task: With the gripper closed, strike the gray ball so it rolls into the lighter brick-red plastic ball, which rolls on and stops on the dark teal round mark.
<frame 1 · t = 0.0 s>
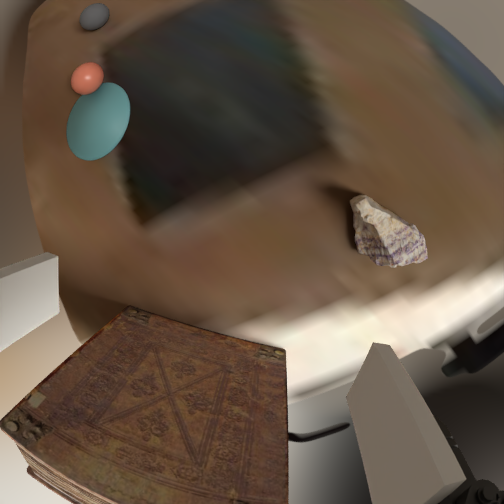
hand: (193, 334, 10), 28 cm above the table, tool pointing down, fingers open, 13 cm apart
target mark: (96, 120, 36), on the table
mineral specimen: (380, 230, 36), on the table
object ball: (87, 78, 32), on the table
gray ball: (94, 16, 29), on the table
book: (199, 352, 42), on the table
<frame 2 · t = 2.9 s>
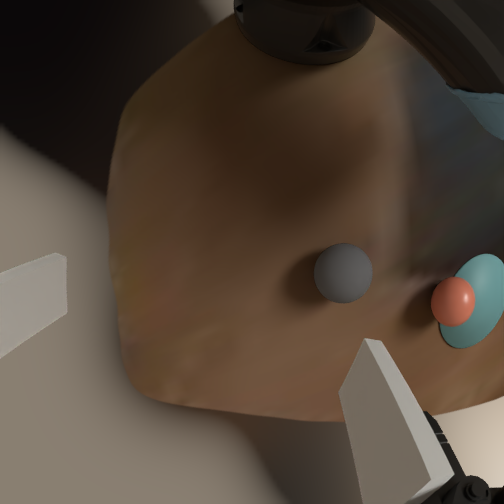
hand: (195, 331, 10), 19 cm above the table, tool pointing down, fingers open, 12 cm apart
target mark: (477, 303, 27), on the table
object ball: (453, 301, 25), on the table
gray ball: (343, 273, 25), on the table
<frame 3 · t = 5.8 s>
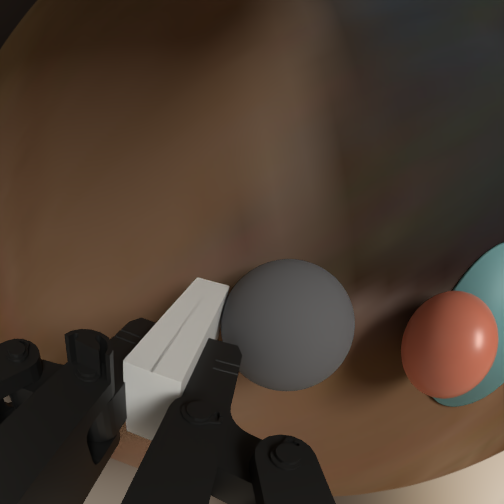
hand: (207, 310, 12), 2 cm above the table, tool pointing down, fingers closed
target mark: (496, 332, 13), on the table
object ball: (450, 345, 11), on the table
gray ball: (288, 325, 11), on the table
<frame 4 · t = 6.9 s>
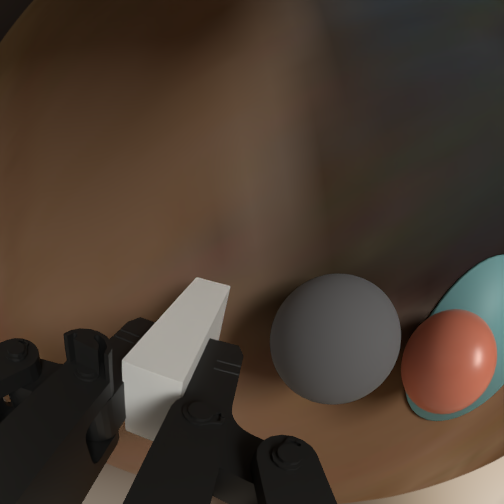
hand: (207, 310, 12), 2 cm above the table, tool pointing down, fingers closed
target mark: (483, 347, 13), on the table
object ball: (449, 362, 11), on the table
gray ball: (336, 339, 11), on the table
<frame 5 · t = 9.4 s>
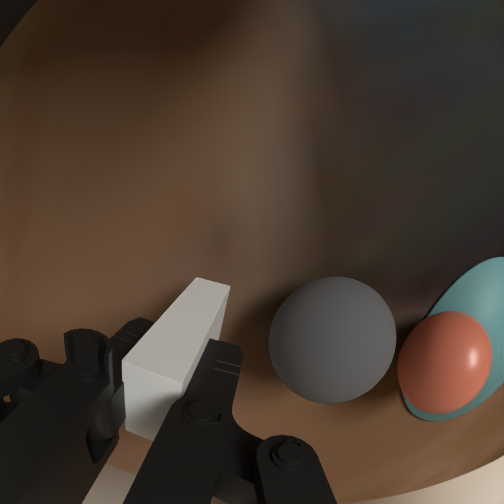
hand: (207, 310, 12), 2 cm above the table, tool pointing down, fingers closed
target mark: (479, 348, 14), on the table
object ball: (445, 362, 11), on the table
gray ball: (333, 340, 11), on the table
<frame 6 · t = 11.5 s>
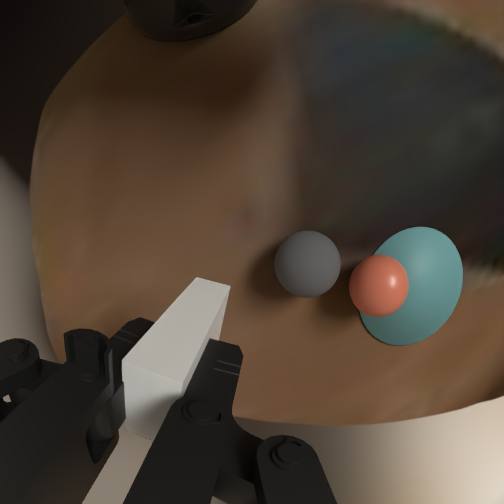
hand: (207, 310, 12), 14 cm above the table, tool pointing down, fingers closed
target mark: (415, 289, 25), on the table
object ball: (379, 285, 23), on the table
gray ball: (307, 264, 23), on the table
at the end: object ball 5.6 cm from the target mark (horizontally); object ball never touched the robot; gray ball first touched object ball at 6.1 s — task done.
